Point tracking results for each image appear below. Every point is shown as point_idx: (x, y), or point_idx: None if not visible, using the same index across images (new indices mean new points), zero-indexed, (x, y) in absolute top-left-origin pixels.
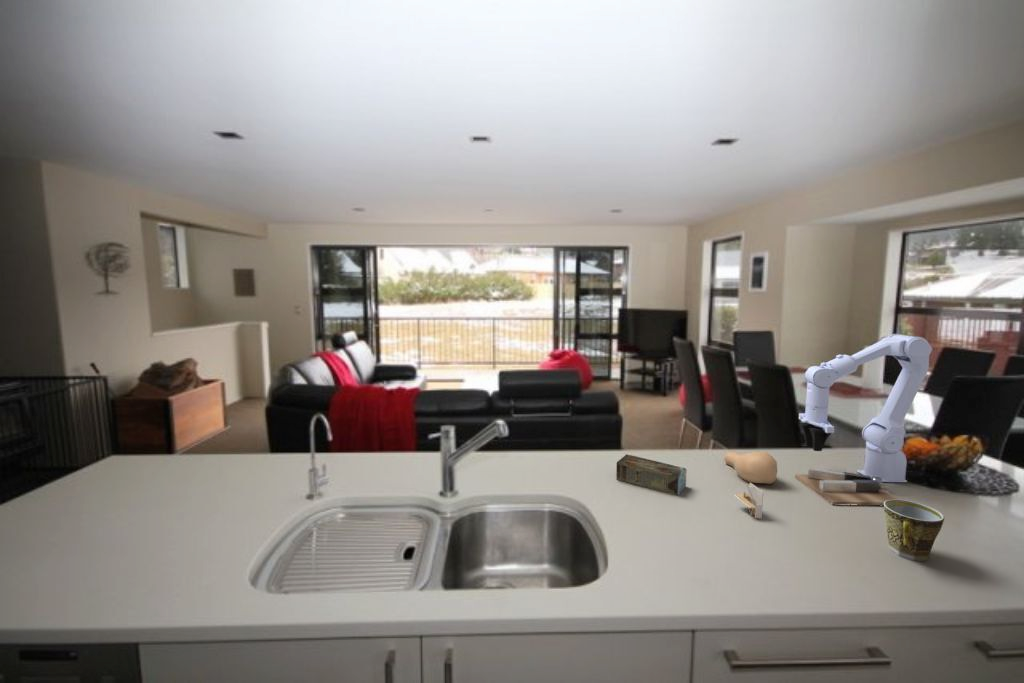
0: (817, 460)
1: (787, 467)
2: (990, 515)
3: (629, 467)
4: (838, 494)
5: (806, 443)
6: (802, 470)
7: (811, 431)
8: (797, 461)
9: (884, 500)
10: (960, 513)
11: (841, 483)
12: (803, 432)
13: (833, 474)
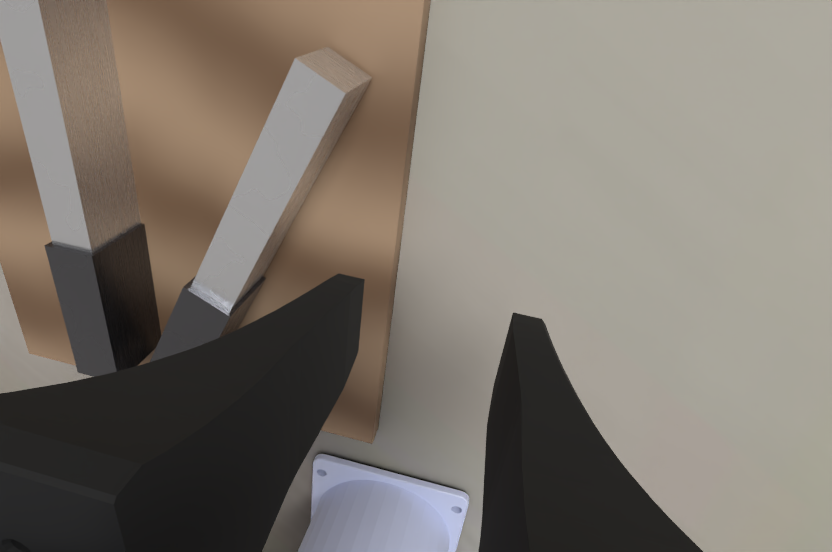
0: (723, 451)
1: (685, 94)
2: None
3: None
4: None
5: (516, 329)
6: (575, 186)
7: (114, 426)
8: (777, 301)
9: (24, 276)
10: None
11: (26, 129)
12: (591, 454)
13: (222, 223)
